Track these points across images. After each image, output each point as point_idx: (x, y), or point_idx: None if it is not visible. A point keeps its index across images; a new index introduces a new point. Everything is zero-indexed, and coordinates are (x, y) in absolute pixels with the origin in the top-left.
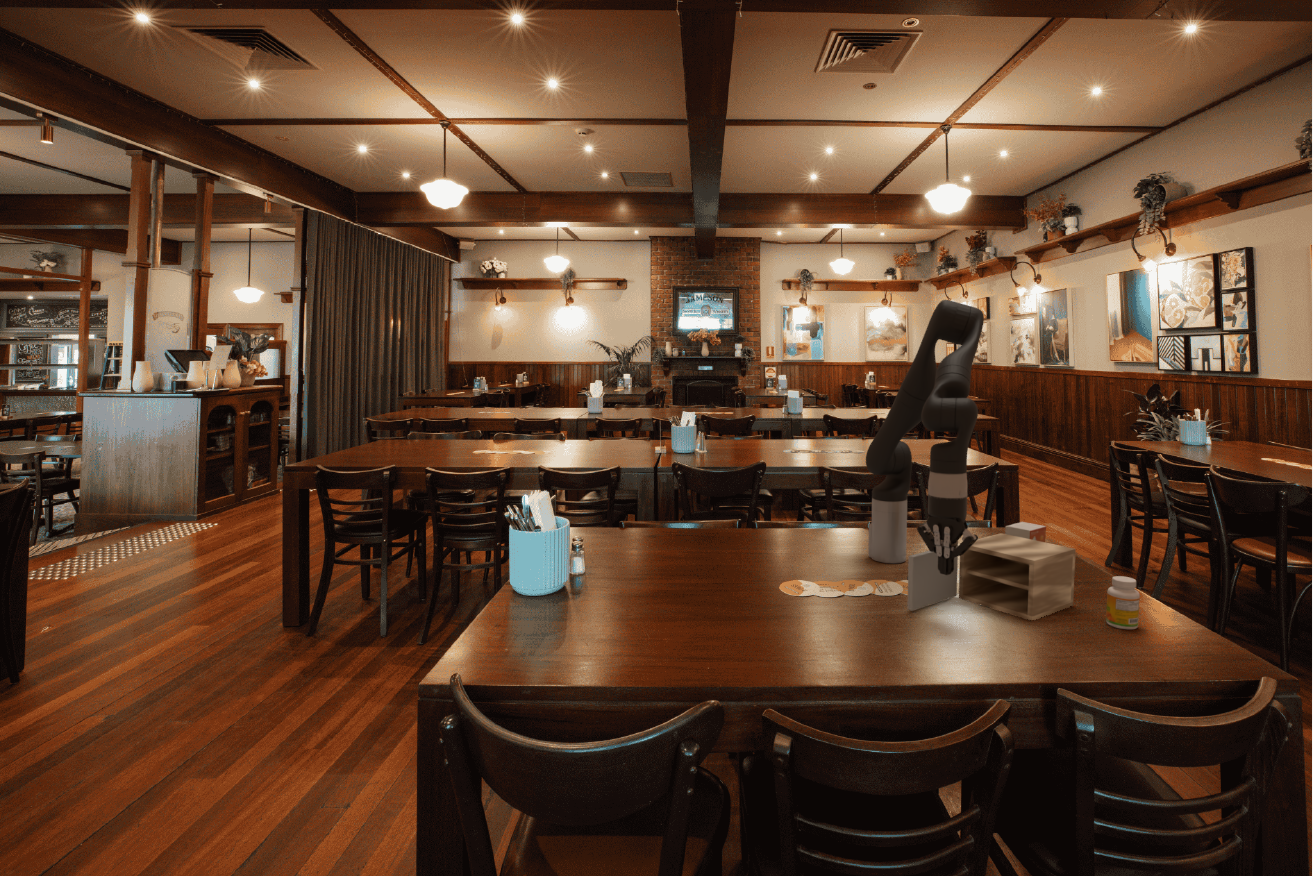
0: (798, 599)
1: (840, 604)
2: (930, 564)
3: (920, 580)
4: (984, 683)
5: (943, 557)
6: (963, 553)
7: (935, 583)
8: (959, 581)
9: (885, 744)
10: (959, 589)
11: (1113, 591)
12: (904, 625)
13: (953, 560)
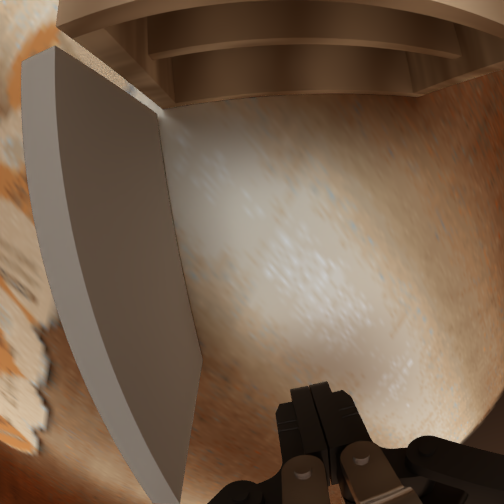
0: (55, 462)
1: (92, 436)
2: (144, 353)
3: (180, 382)
4: (474, 428)
5: (329, 483)
6: (444, 446)
7: (161, 267)
8: (147, 94)
9: None
10: (157, 102)
11: None
12: (263, 421)
13: (366, 437)
